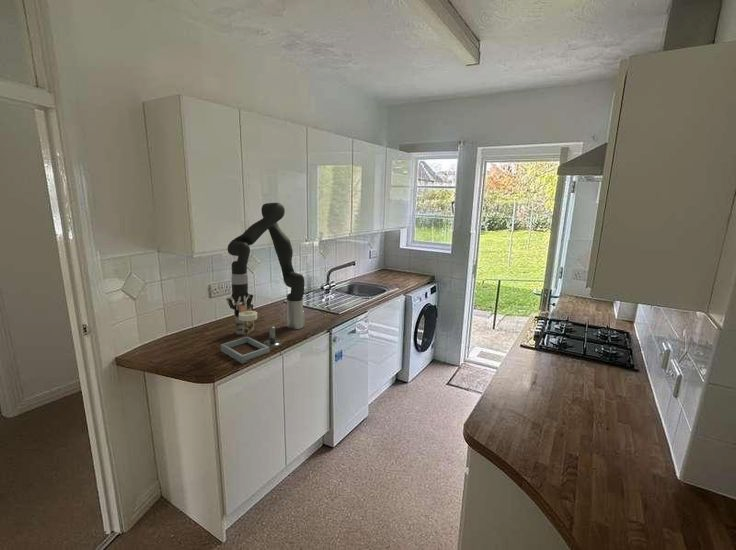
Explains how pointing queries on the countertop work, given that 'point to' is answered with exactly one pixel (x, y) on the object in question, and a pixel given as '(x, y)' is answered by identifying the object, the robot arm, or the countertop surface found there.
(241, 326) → the coffee box
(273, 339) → the stake
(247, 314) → the ring
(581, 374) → the countertop surface
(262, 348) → the tray
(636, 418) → the countertop surface
